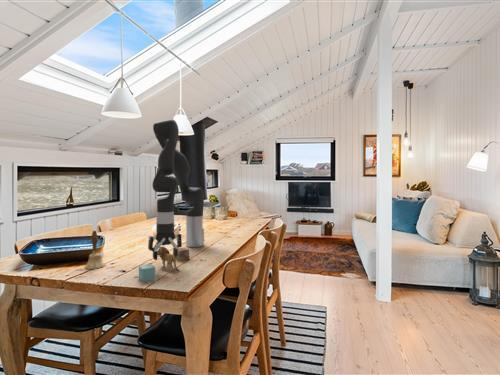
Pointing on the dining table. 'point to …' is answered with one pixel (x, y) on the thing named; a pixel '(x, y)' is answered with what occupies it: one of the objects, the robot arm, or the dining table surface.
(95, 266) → the hand bell
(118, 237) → the dining table surface
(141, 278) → the teal block
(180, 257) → the walnut block
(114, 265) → the dining table surface
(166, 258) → the lion figurine
